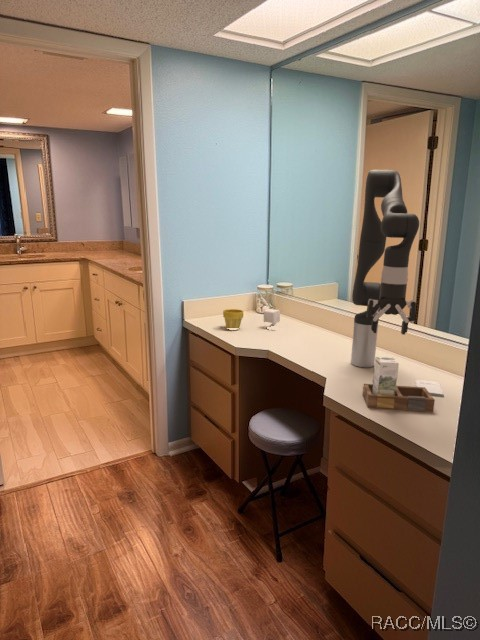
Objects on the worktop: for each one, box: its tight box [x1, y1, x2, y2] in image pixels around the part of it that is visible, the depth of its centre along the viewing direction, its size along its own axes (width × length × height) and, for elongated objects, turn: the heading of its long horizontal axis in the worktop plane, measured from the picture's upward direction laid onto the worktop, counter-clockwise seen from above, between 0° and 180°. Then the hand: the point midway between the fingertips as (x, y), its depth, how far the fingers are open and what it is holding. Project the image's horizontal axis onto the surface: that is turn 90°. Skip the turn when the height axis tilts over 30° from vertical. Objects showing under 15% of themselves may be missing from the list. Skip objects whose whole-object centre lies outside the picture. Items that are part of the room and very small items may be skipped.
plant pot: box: [222, 308, 244, 329], centre depth 234 cm, size 10×10×10 cm
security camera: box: [263, 308, 281, 327], centre depth 236 cm, size 6×7×10 cm
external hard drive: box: [414, 379, 445, 398], centre depth 157 cm, size 2×8×12 cm
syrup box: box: [371, 356, 400, 396], centre depth 143 cm, size 6×6×14 cm
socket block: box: [362, 383, 436, 413], centre depth 144 cm, size 11×20×4 cm, turn 83°
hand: (388, 333), depth 140 cm, fingers open, 8 cm apart
